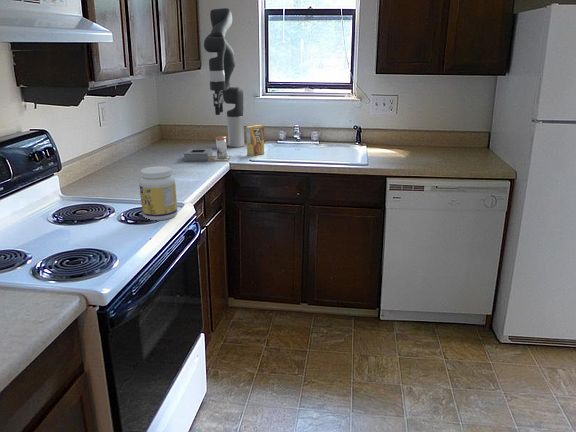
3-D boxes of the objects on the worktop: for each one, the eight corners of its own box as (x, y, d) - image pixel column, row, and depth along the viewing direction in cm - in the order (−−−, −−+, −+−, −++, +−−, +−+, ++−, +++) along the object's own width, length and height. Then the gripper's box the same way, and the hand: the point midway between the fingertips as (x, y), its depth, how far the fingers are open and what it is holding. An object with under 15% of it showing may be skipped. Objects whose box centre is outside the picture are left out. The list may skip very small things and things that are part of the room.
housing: (189, 156, 273) (189, 148, 272) (212, 156, 273) (211, 148, 271) (184, 161, 262) (183, 153, 261) (208, 161, 261) (207, 153, 260)
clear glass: (217, 157, 269) (216, 136, 266) (228, 157, 269) (227, 135, 265) (216, 159, 264) (214, 137, 261) (226, 159, 264) (225, 137, 260)
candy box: (260, 152, 284) (259, 124, 279) (264, 153, 281) (264, 125, 276) (246, 155, 279) (245, 126, 274) (251, 156, 276) (250, 127, 271)
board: (190, 157, 274) (190, 155, 274) (231, 157, 273) (231, 155, 272) (184, 163, 262) (184, 161, 261) (227, 163, 261) (227, 161, 260)
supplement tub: (135, 217, 184) (130, 170, 178) (163, 208, 193) (158, 163, 187) (157, 224, 177) (152, 175, 171) (185, 214, 186) (181, 168, 180)
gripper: (212, 79, 261) (214, 111, 266) (206, 81, 247) (209, 115, 253) (227, 78, 260) (228, 111, 266) (222, 81, 247) (224, 115, 252)
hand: (219, 113), depth 259 cm, fingers open, 8 cm apart
